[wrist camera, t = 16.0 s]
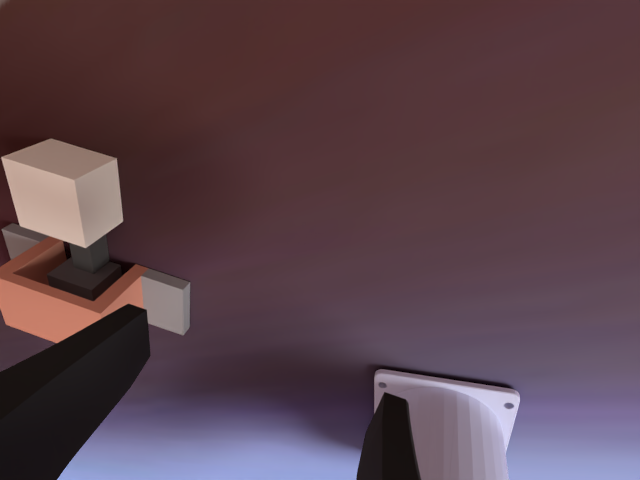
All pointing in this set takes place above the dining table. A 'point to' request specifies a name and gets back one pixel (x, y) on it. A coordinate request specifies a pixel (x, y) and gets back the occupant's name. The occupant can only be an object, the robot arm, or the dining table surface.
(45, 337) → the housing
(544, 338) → the dining table surface
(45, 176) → the plug
